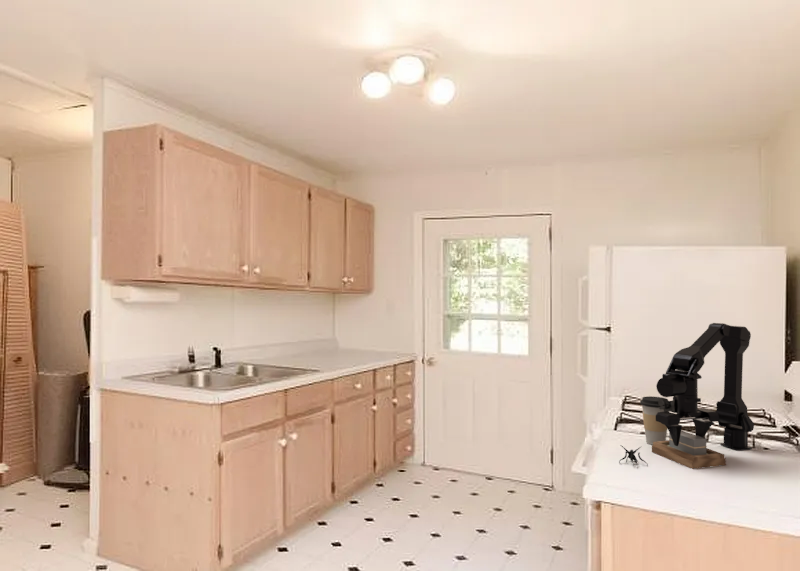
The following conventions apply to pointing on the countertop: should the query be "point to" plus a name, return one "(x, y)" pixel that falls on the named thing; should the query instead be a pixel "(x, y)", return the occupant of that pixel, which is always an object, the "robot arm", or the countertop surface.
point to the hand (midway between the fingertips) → (687, 444)
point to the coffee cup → (652, 420)
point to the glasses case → (690, 443)
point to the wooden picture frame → (688, 456)
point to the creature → (632, 456)
